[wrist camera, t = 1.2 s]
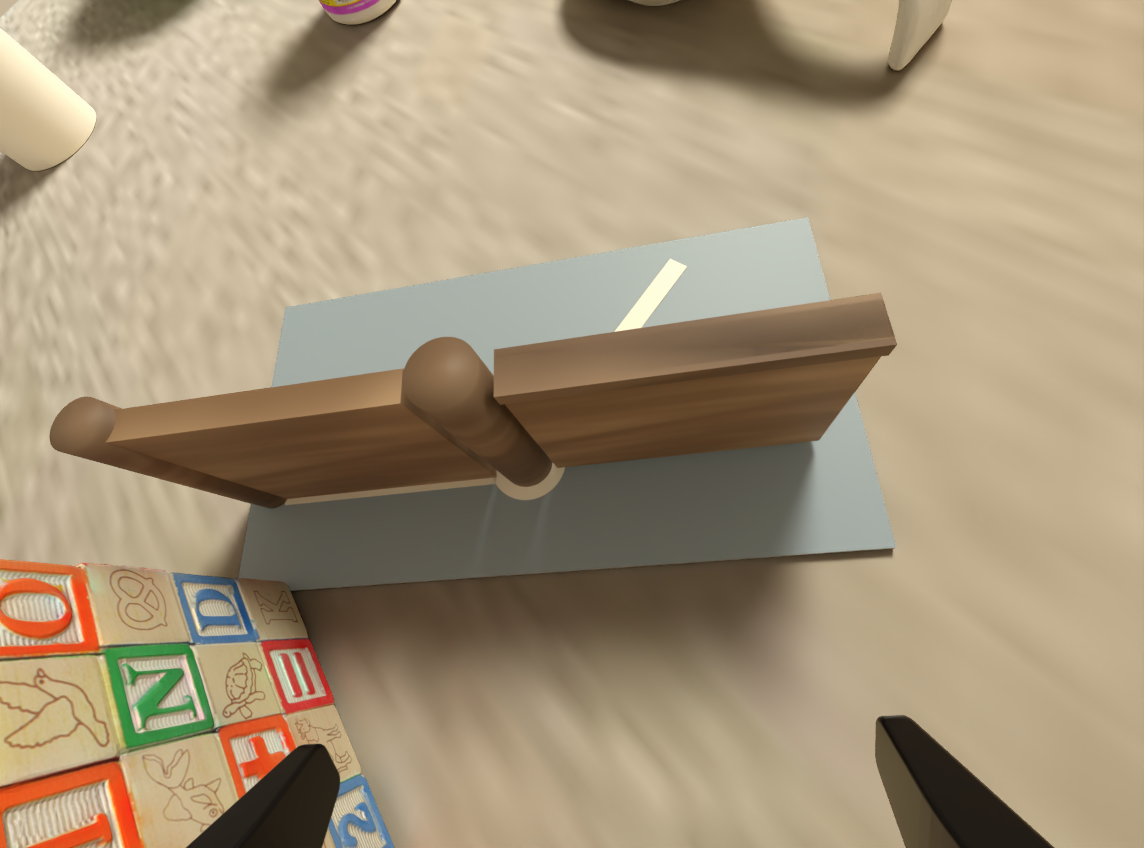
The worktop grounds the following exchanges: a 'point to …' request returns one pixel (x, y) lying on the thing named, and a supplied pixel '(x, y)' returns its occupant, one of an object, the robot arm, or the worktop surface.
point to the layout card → (579, 493)
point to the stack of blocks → (156, 706)
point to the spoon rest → (916, 22)
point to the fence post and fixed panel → (319, 433)
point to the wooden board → (694, 382)
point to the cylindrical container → (38, 111)
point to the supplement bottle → (355, 10)
